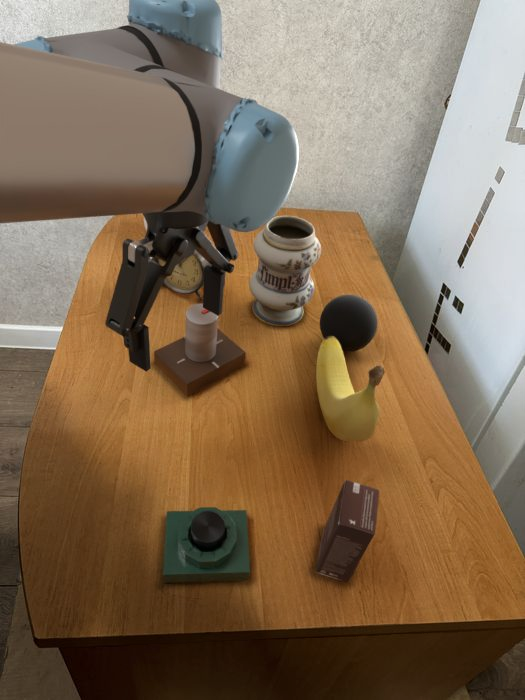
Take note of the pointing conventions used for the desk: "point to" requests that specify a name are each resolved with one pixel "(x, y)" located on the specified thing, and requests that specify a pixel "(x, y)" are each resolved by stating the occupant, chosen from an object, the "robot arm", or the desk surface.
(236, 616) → the desk surface
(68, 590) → the desk surface
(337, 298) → the decorative ball
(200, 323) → the dial
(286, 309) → the apothecary jar
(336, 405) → the banana
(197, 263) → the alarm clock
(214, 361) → the dial panel
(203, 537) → the button
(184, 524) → the button box
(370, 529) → the box
